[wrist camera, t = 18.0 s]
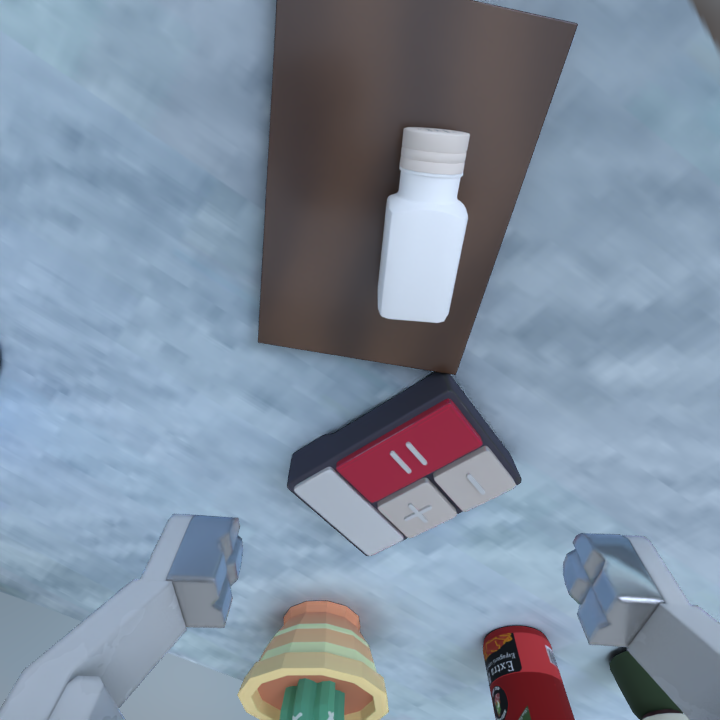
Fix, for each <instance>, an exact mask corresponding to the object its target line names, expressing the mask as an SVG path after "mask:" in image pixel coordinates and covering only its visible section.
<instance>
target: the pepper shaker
mask: <svg viewBox="0 0 720 720" xmlns="http://www.w3.org/2000/svg"><path fill="white" fill-rule="evenodd" d="M469 138H470V134H469V133H465V132H460V131H453V130H445V129H435V128H422V127H406V128H404V131H403V139H402V148H401V157H400V165H399V166H400V167H399V169H400V170H401V174H400V183H399V191H398V192H397V193H396V194H392V195H390V196H389V197H388V198H387V203H386V213H385V222H384V232H383V242H382V251H381V261H380V270H379V280H378V310H379V313H380V315H381V316H382V317H384V318H387V319H396V320H408V321H420V322H432V323H440V322H444V320H445V319H446V317H447V315H448V314H449V309H450V304H451V299H452V295H453V290H454V285H455V280H456V275H457V270H458V265H459V260H460V255H461V250H462V245H463V240H464V235H465V231H466V226H467V221H468V214H467V211H466V208H465V206H464V204H463V203H462V202H461V201H459V200H458V199H457V194H458V189H459V183H460V178H461V177H462V176H463V170H464V164H465V162H464V161H465V159H466V154H467V153H466V151H467V148H468V143H469Z"/></svg>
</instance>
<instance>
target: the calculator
mask: <svg viewBox="0 0 720 720" xmlns="http://www.w3.org/2000/svg"><path fill="white" fill-rule="evenodd" d="M520 483H521V477H520V475H519V472H518V470H517V468H516V466H515V464H514V461H513V459H512V457H511V455H510V453H509V452H508V451H507V449H506V448H505V447H504V445H503V444H502V443H501V441H500V440H499V439H498V437H497V436H496V435H495V434H494V432H493V431H492V430H491V428H490V427H489V426H488V424H487V423H486V422H485V420H484V419H483V418H482V416H481V415H480V414H479V412H478V411H477V410H476V408H475V407H474V406H473V404H472V403H471V402H470V400H469V399H468V398H467V396H466V395H465V394H464V392H463V391H462V390H461V389H460V387H459V386H458V385H457V383H456V382H455V381H454V379H453V378H452V377H451V375H450V374H448V373H442V372H435V373H433V374H432V375H430V376H428V377H427V378H425V379H423V380H422V381H420V382H419V383H417V384H415V385H414V386H412V387H410V388H409V389H407V390H405V391H404V392H402V393H400V394H399V395H397V396H395V397H394V398H392V399H390V400H389V401H387V402H385V403H384V404H382V405H380V406H379V407H377V408H375V409H374V410H372V411H370V412H369V413H367V414H366V415H364V416H362V417H361V418H359V419H357V420H356V421H354V422H352V423H351V424H349V425H347V426H346V427H344V428H342V429H341V430H339V431H337V432H336V433H334V434H328V435H323V436H322V437H320V438H318V439H317V440H315V441H313V442H312V443H310V444H308V445H307V446H305V447H303V448H302V449H300V450H299V451H297V452H295V453H294V454H293V455H292V459H291V465H290V470H289V476H288V482H287V488H288V489H289V490H290V491H291V492H293V493H294V494H295V495H296V496H297V497H298V498H300V499H301V500H302V501H303V502H304V503H305V504H306V505H308V506H309V507H310V508H311V509H312V510H313V511H315V512H316V513H317V514H318V515H319V516H320V517H322V518H323V519H324V520H325V521H326V522H327V523H329V524H330V525H331V526H332V527H333V528H334V529H336V530H337V531H338V532H339V533H340V534H341V535H342V536H344V537H345V538H346V539H347V540H348V541H349V542H351V543H352V544H353V545H354V546H355V547H356V548H358V549H359V550H360V551H361V552H362V553H363V554H365V555H366V556H372V555H374V554H376V553H378V552H380V551H382V550H384V549H386V548H389V547H391V546H393V545H395V544H397V543H399V542H401V541H403V540H405V539H407V538H413V537H415V536H417V535H419V534H421V533H423V532H425V531H427V530H429V529H432V528H434V527H436V526H438V525H440V524H442V523H444V522H446V521H448V520H450V519H452V518H454V517H456V516H457V514H459V513H461V512H463V511H464V512H466V511H469V510H471V509H473V508H475V507H477V506H479V505H481V504H483V503H485V502H487V501H489V500H492V499H494V498H496V497H498V496H500V495H502V494H504V493H506V492H508V491H510V490H512V489H514V488H515V487H516V485H518V484H520Z"/></svg>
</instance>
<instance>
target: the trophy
mask: <svg viewBox="0 0 720 720" xmlns="http://www.w3.org/2000/svg"><path fill="white" fill-rule="evenodd" d="M610 670H611V672H612V674H613V676H614V678H615V680H616V682H617V684H618V686H619V688H620V690H621V691H622V693H623V695H624V697H625V699H626V701H627V702H628V704H629V706H630V708H631V710H632V712H633V713H634V714H635V715H636V716H637V717H638V719H640V720H690V719H689V718H688V717H687V716H686V715H685V714H683V712H682V711H681V709H680V708H679V707H678V706H677V705H676V704H675V703H674V702H673V701H672V699H671V698H670V697H669V696H668V695H667V694H666V693H665V692H664V691H663V689H662V688H661V687H660V686H659V685H658V684H657V683H656V682H655V681H654V679H653V678H652V677H651V676H650V675H649V674H648V673H647V672H646V671H645V669H644V668H643V667H642V666H641V665H640V664H639V663H638V662H637V661H636V659H635V658H634V657H633V656H632V655H631V654H630V653H629V652H628V651H625V652H622V653H620V654H618V655H616V656H614V658H613V659H612V660H611V662H610Z"/></svg>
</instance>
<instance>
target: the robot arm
mask: <svg viewBox="0 0 720 720" xmlns="http://www.w3.org/2000/svg"><path fill="white" fill-rule="evenodd" d="M239 529H240V524H239V519H238V518H233V517H218V516H204V515H190V514H173V515H172V516H171V517H170V518H169V520H168V521H167V523H166V525H165V528H164V530H163V532H162V534H161V536H160V538H159V540H158V542H157V544H156V546H155V549H154V551H153V553H152V555H151V557H150V559H149V561H148V563H147V565H146V567H145V570H144V572H143V574H142V576H141V578H140V579H133V580H132V581H131V582H129V583H128V584H127V585H126V586H124V587H123V588H122V589H121V590H120V591H118V592H117V593H116V594H115V595H114V596H112V597H111V598H110V599H109V600H108V601H106V602H105V603H104V604H103V605H101V606H100V607H99V608H98V609H97V610H95V611H94V612H93V613H92V614H91V615H89V616H88V617H87V618H86V619H85V620H83V621H82V622H81V623H80V624H78V625H77V626H76V627H75V628H74V629H72V630H71V631H70V632H69V633H68V634H66V635H65V636H64V637H63V638H62V639H60V640H59V641H58V642H57V643H55V644H54V645H53V646H52V647H51V648H49V650H47V651H46V652H45V653H43V654H42V655H41V656H40V657H39V658H37V659H36V660H35V661H34V662H32V664H30V665H29V666H28V667H26V668H25V669H24V670H23V671H22V673H21V675H20V676H19V678H18V679H17V681H16V683H15V685H14V686H13V688H12V689H11V691H10V693H9V694H8V696H7V698H6V699H5V701H4V703H3V704H2V706H1V708H0V720H125V718H124V717H123V715H122V714H121V712H120V710H119V708H120V707H121V705H122V704H123V703H124V702H125V700H127V698H128V697H129V696H130V695H131V694H132V692H133V691H134V690H135V689H136V688H137V687H138V686H139V685H140V683H141V682H142V681H143V680H144V679H145V678H146V676H147V675H148V674H149V673H150V672H151V671H152V669H153V668H154V667H155V666H156V665H157V664H158V663H159V661H160V660H161V659H162V658H163V657H164V655H165V654H166V653H167V652H168V651H169V650H170V649H171V647H172V646H173V645H174V644H175V643H176V642H177V640H178V639H179V638H180V637H181V636H182V635H183V634H184V632H185V631H186V630H187V628H186V627H208V628H224V627H225V624H226V620H227V617H228V613H229V609H230V606H231V602H232V599H233V598H232V592H231V587H230V586H232V585H233V584H234V583H235V582H236V581H237V580H238V576H239V572H240V569H241V563H242V556H243V543H242V538H240V537H239V536H238V532H239ZM573 544H574V547H575V549H574V550H573V551H571V552H569V553H568V554H567V555H566V558H565V560H564V562H563V576H564V580H565V585H566V587H567V590H568V593H569V595H570V596H571V597H572V598H573V599H574V600H575V601H576V602H577V603H578V604H580V605H579V609H578V612H577V615H578V618H579V620H580V623H581V625H582V628H583V630H584V633H585V635H586V638H587V640H588V643H589V644H590V645H604V646H617V647H628V648H627V651H628V652H629V653H630V654H631V655H632V656H633V657H634V658H635V659H636V661H637V662H638V663H639V664H640V665H641V666H642V667H643V668H644V669H645V671H646V672H647V673H648V674H649V675H650V676H651V677H652V678H653V679H654V681H655V682H656V683H657V684H658V685H659V686H660V687H661V688H662V689H663V691H664V692H665V693H666V694H667V695H668V696H669V697H670V698H671V699H672V701H673V702H674V703H675V704H676V705H677V706H678V707H679V708H680V709H681V711H682V712H683V713H684V714H685V715H686V716H687V717H688V718H689V719H690V720H720V623H719V622H718V621H717V620H716V619H714V618H713V617H712V616H710V615H709V614H708V613H707V612H705V611H704V610H703V609H702V608H700V607H699V606H698V605H691V604H690V603H689V601H688V599H687V598H686V596H685V595H684V593H683V592H682V590H681V588H680V587H679V585H678V584H677V582H676V580H675V579H674V577H673V576H672V574H671V573H670V571H669V569H668V568H667V566H666V565H665V563H664V561H663V560H662V558H661V557H660V555H659V554H658V552H657V550H656V549H655V547H654V546H653V544H652V543H651V541H650V540H649V539H648V538H646V537H645V536H630V535H620V534H589V533H580V534H578V535H577V536H576V537H575V539H574V541H573Z"/></svg>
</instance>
